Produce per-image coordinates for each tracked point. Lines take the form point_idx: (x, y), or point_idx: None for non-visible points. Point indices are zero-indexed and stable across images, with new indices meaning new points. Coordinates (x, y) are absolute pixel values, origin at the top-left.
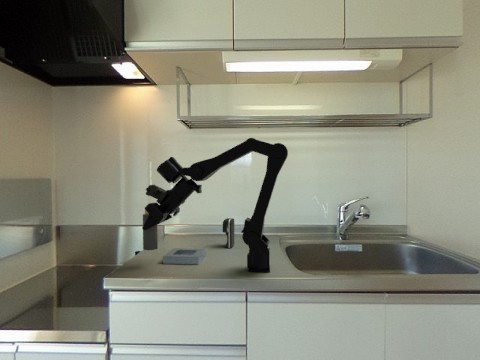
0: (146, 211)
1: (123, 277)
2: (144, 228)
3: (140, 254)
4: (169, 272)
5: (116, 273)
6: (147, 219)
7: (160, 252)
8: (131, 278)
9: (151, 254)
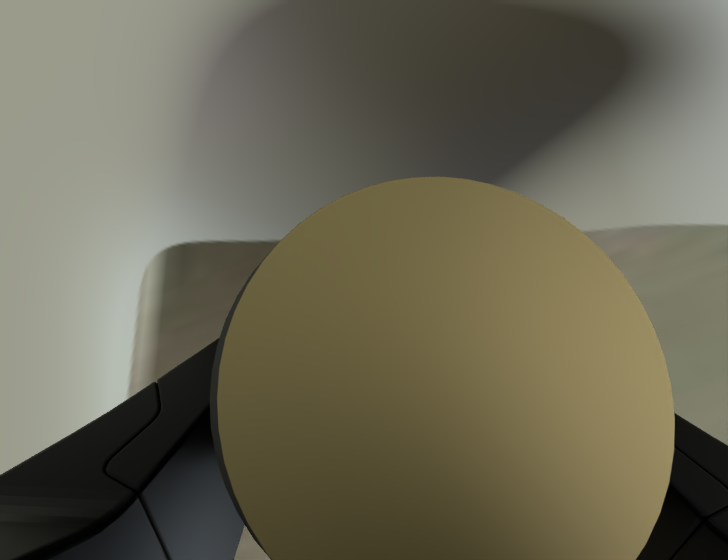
0: (262, 298)
1: (157, 311)
2: None
3: (632, 229)
4: (235, 554)
5: (230, 249)
6: (132, 411)
7: (717, 337)
8: (135, 359)
9: (649, 295)
